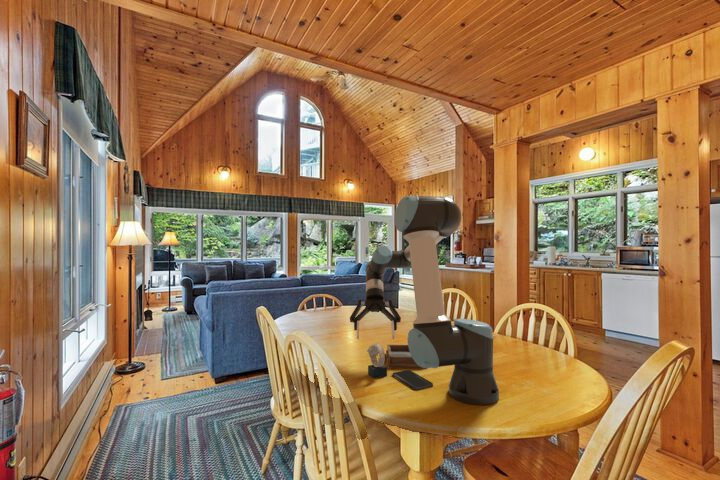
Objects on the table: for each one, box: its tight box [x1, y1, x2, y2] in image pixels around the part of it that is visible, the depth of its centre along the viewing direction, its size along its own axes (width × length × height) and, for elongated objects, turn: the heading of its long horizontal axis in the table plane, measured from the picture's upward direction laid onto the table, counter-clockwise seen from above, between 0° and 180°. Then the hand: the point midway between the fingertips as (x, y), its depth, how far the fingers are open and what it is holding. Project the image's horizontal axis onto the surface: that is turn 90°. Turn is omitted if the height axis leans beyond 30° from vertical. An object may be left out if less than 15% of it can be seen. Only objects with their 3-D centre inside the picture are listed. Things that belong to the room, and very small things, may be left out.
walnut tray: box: [385, 344, 423, 369], centre depth 146 cm, size 17×15×4 cm
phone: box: [392, 369, 434, 391], centre depth 125 cm, size 8×1×15 cm
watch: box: [366, 343, 388, 379], centre depth 130 cm, size 6×8×11 cm
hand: (375, 337), depth 138 cm, fingers open, 13 cm apart
